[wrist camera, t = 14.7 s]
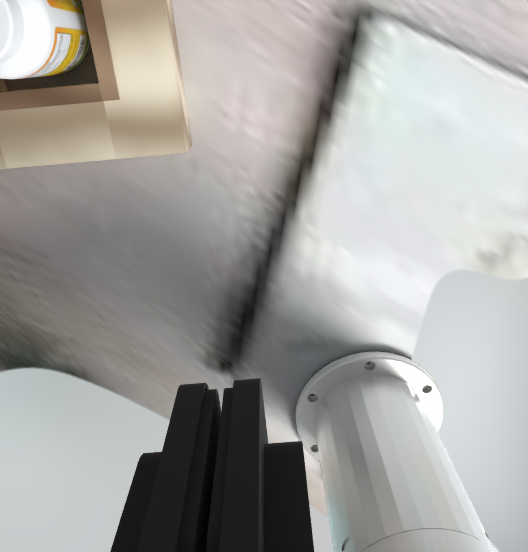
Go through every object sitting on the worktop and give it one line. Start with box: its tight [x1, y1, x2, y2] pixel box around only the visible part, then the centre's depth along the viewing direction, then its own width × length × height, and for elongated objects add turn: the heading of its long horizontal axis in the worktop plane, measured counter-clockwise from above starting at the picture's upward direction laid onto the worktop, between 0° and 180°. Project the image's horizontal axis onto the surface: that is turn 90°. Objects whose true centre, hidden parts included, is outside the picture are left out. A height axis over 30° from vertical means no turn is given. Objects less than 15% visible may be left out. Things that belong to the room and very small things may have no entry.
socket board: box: [0, 0, 192, 169], centre depth 30 cm, size 16×16×3 cm
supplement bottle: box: [0, 0, 90, 79], centre depth 27 cm, size 5×5×10 cm
